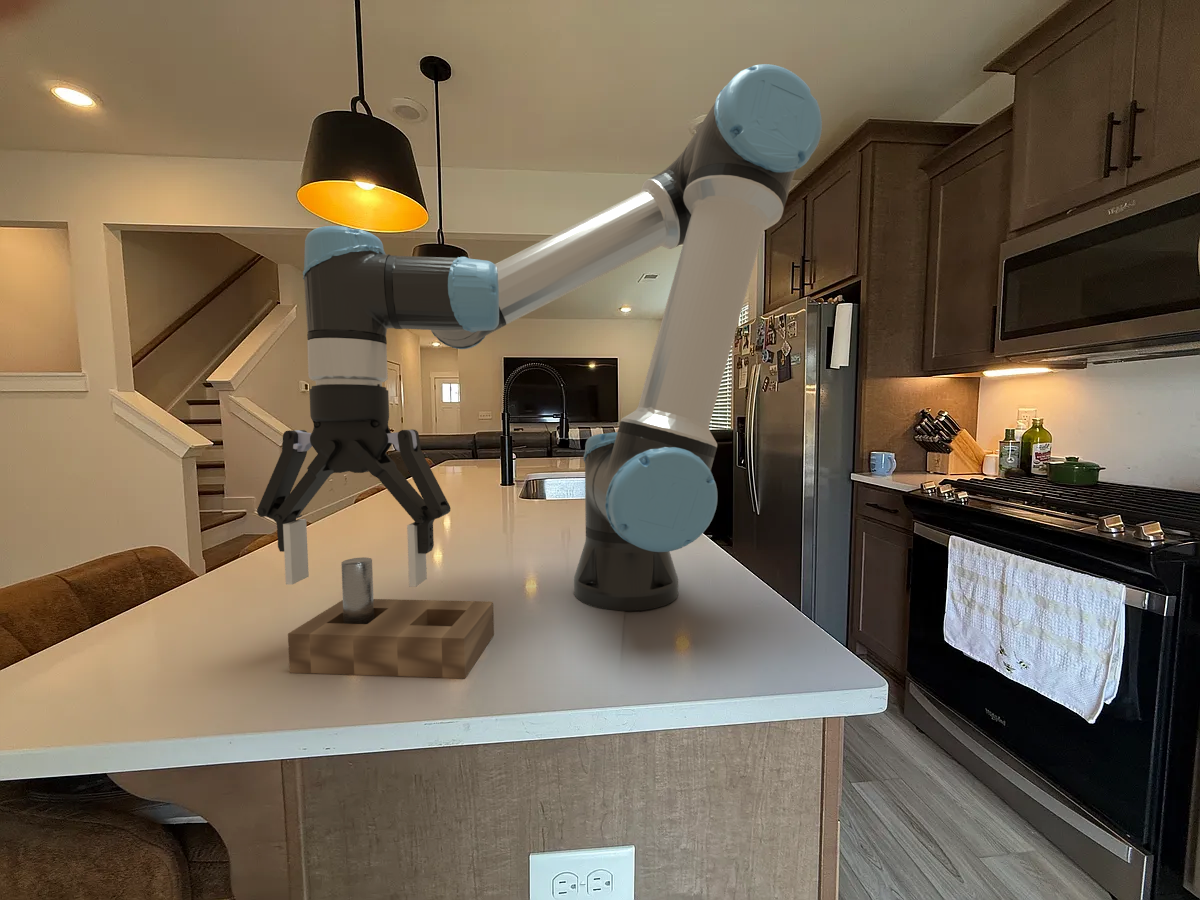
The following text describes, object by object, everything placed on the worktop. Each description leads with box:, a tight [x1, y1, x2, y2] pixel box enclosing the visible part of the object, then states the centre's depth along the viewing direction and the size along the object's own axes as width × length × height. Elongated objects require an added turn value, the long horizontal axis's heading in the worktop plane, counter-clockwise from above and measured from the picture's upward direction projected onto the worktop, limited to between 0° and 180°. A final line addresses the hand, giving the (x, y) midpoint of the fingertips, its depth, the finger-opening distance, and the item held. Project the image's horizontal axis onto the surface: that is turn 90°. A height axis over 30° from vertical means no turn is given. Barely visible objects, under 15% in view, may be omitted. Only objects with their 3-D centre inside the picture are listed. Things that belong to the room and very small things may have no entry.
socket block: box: [287, 598, 495, 679], centre depth 56 cm, size 18×10×4 cm, turn 86°
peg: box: [340, 557, 374, 624], centre depth 56 cm, size 3×3×10 cm
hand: (357, 582), depth 56 cm, fingers open, 13 cm apart
